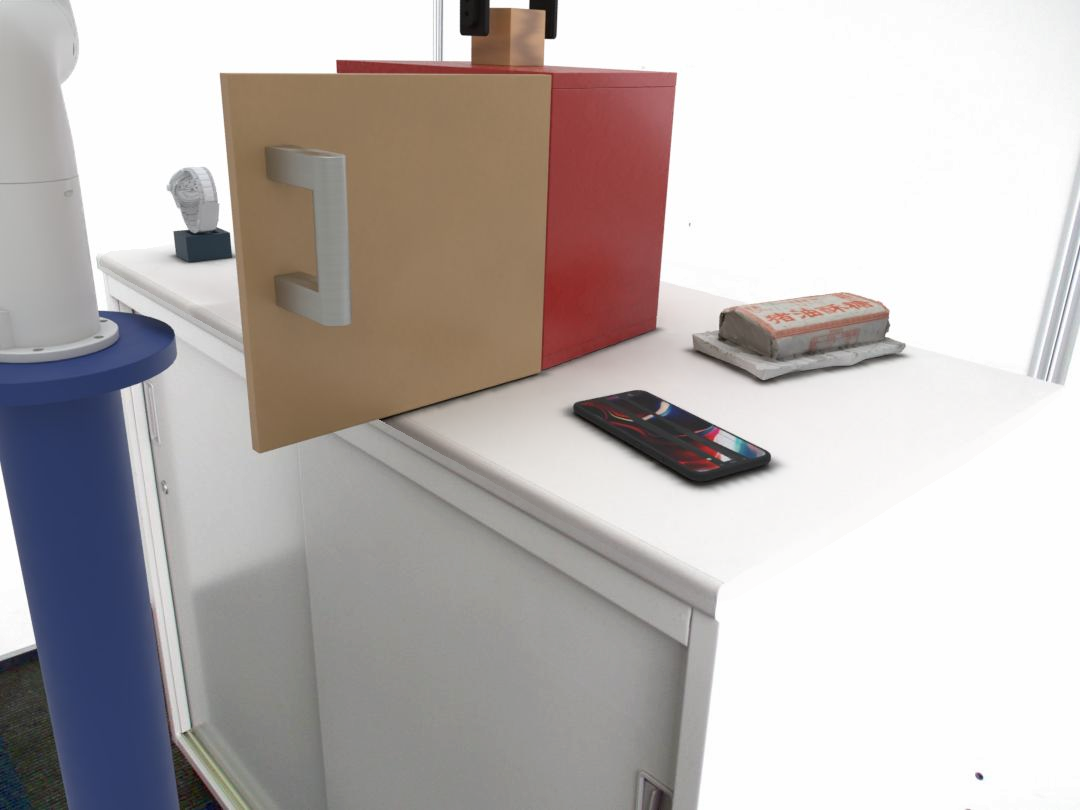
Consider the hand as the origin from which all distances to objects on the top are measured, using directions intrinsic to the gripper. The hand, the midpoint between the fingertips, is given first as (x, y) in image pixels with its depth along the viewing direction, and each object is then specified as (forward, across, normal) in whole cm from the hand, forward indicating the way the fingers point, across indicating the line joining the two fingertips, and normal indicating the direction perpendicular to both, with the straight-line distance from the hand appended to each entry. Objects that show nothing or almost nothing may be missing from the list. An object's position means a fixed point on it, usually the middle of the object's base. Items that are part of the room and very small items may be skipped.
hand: (509, 37), depth 88 cm
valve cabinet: (+27, -3, -2) cm, 27 cm away
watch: (+27, -9, +43) cm, 52 cm away
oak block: (+2, 0, 0) cm, 3 cm away
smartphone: (+27, -17, -31) cm, 44 cm away
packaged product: (+27, +9, -29) cm, 41 cm away
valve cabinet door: (+27, -26, -17) cm, 41 cm away
